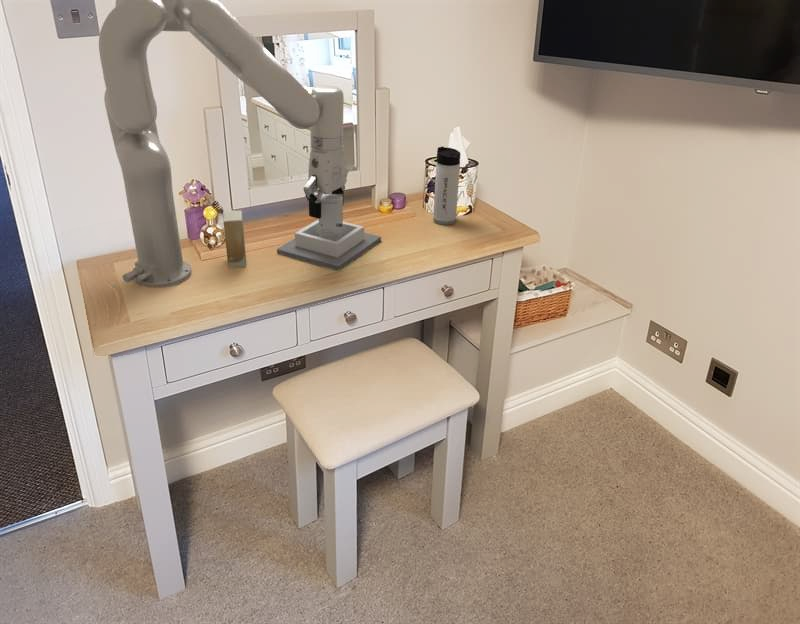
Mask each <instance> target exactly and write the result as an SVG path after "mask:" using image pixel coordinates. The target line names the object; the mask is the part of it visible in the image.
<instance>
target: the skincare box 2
mask: <svg viewBox="0 0 800 624" xmlns="http://www.w3.org/2000/svg"><path fill="white" fill-rule="evenodd" d="M320 202H321V218H320V219H319V237H321V238H324V239H328V240H332V241H337V240H339V239H340V238H342V237H343V222H344V218H343V217H344V215H343V213H344V208H343V207H344V205H343V194H332V193H328V194H322V197H321V199H320Z"/></svg>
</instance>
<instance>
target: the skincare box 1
mask: <svg viewBox="0 0 800 624" xmlns="http://www.w3.org/2000/svg"><path fill="white" fill-rule="evenodd" d="M222 221H223V231H224V239H225V250H226V258H227V259H226V261H227V268H228V269H237V268H246V267H247V263H248V262H247V252H246V243H245V242H246V241H245V240H246V239H245V229H244V223H243V222H244V221H243V210H224V211H223V212H222Z"/></svg>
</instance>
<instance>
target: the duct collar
mask: <svg viewBox="0 0 800 624" xmlns="http://www.w3.org/2000/svg"><path fill="white" fill-rule="evenodd" d="M381 241H382V236H380V235H376V234H373V233H368V232H365V226H362V225H358V224H354V223H350V222H347V221H343V237H342V238H340V239H339V240H337V241H332V240H328V239H324V238H321V237H319V219H318V218H317V220H315V221H313V222H312V223H310V224H308V225H305V226H304V227H302V228H300V229H299V230H298V231H295V232H294V239H291V240H290V241H288V242H287V243H284V244H283V245H281V246H279V247H278V248H276V253H277V255H280V256H285V257H288V258H292V259H294V260H299V261H302V262H306V263H308V264H309V263H310V264H314V265H317V266H320V267H323V268H326V269H327V268H328V269H330V268H331V270H334V269H335V270H334V271H337V270H339V271H341V270H342V269H344V268H345V267H346V266H348V265H349V264H351V263H352V262H353V261H355V260H356V259H358V258H359V257H361V256H362V255H363V254H365V253H366V252H368V251H369V250H370V249H372V248H373V247H375V246H376V245H377V244H379V243H380V242H381ZM340 269H341V270H340Z"/></svg>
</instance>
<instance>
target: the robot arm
mask: <svg viewBox="0 0 800 624" xmlns="http://www.w3.org/2000/svg"><path fill="white" fill-rule="evenodd" d="M162 32H189V33H190V34H191V35H192V36H193V37H194V38H195V39H196V40H197V41H198V42H200V44H202V46H204V47H205V48H206V49H207V50H208V51H209V52H210V53H211V54H212V55H213V56H215V58H217V60H219V61H220V62H221V64H223V65H224V66H225V67H226V68H227V69H228V70H229V71H230V72H231V73H232V74H233V75H235V77H237V78H238V79H239V81H241V82H242V83H243V84H245V85H247V86H248V87H249V88H251V89H252V90H253V91H254V92H255V93H257V94H258V95H259V96H261V98H263V99H264V100H265V101H266V102H267V103H268V104H269V105H270V106H272V107H273V108H274V109H275V111H276V113H277V114H278V115H279V116H280V117H281V118H282V119H284V120H285V121H287V123H289V124H290V125H291V127H294V128H295V129H300V130H306V129H307V130H308V129H309V130H310V152H309V153H310V154H309V161H308V176H307V177H308V178H307V182H306V183H305V185H304V186H303V192H304V194H305V195H304V196H305V198H306V199H307V202H308V215H309V217H310V218H314V219H317V220H318V219H320V218H321V202H320V199H321V197H322V194H343V206H344V203H345V202H344V200H345V199H344V196H345V195H344V194H345V193H344V191H345V190H346V186H345V185H346V183H347V181H348V180H347V178H348V173H349V170H348V168H347V161H346V160H347V159H346V152H345V150H346V149H345V147H344V102H345V101H344V99H345V98H344V92H343V90H342V89H341V88H339V87H337V86H334V85H332V86H331V85H317V86H303V85H302V83H300V82H299V81H298V80H297V79H296V78H295V77H294V76H293V75H292V74H291V73H290V72H289V71H288V70H287V69H286V68H285V67H284V66H283V65H282V64H281V63H280V62H279V61H278V60H277V58H275V56H274V55H273V54H272V53H271V52H270V51H269V50H268V49H267V48H266V47H265V46H264V45H263V44H262V43H261V41H260V40H258V39H257V38H256V37H255V36H254V35H253V34H252V32H250V31H249V30H248V29H247V27H245V26H244V25H243V24H242V22H240V20H238V19H237V17H235V15H233V13H232V12H231V11H230V10H229V9H228V8H227V7H225V6H224V4H223V3H222V2H220V0H115V7H114V8H113V9H112V10H111V11H110V12H109V13H108V14H107V16H106V18H105V20H104V21H103V23H102V26H101V28H100V31H99V36H98V51H99V59H100V65H101V69H102V74H103V81H104V86H105V91H104V96H103V97H104V98H103V99H104V100H103V101H104V107H105V111H106V114H107V119H108V123H109V127H110V129H109V130H110V132H111V133H110V134H111V138H112V141H113V144H114V149H115V152H116V157H117V159H118V162H119V165H120V169H121V174H122V177H123V183H124V190H125V195H126V202H127V208H128V213H129V218H130V223H131V228H132V235H133V240H134V245H135V249H136V250H135V251H136V255H137V261H134V265H135V266H134V268H133V269H132V270H131V271H128V272H126V273H124V274H122V277H121V278H122V280H123V281H124V282H125V283H130V282H132V281H133V280H134V281H135V282H136V283H137V284H139V285H141V286H144V287H149V288H165V287H171V286H174V285H177V284H180V283H182V282H184V281H186V280H187V279H189V277H190V276H191V275H192V268H191V265H190V264H189V263H188V262H187V261H184V260H183V254H182V247H181V246H182V245H181V239H180V233H179V226H178V225H179V224H178V220H177V219H178V217H177V213H176V212H177V211H176V205H175V199H174V198H175V197H174V191H173V177H172V169H171V168H172V166H171V163H170V159H169V156H168V154H167V152H166V149H165V148H164V146H163V145H162V144H161V141H160V137H159V132H158V127H157V122H156V121H157V117H158V116H157V115H158V106H157V103H156V99H155V96H154V92H153V88H152V82H151V78H150V72H149V65H148V59H147V51H148V47H149V45H150V43H151V42H152V40H153V39H155V38H156V37H157V36H158V35H159V34H161V33H162ZM315 193H316V195H315Z"/></svg>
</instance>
